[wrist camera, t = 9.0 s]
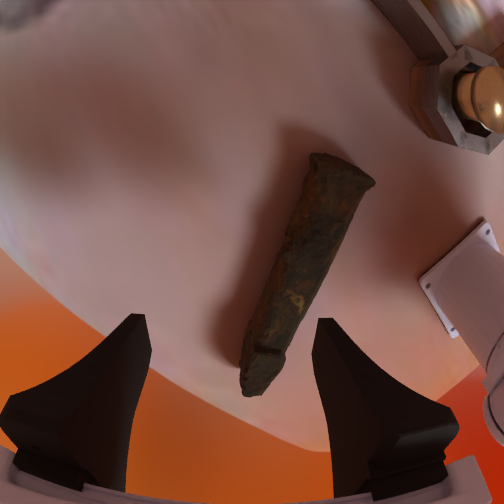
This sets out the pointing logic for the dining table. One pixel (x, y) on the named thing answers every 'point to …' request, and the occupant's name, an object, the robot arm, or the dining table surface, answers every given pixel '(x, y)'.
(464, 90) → the bronze pin
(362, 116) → the dining table surface
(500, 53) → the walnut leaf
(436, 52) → the grey ring with handle
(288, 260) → the hand tool
